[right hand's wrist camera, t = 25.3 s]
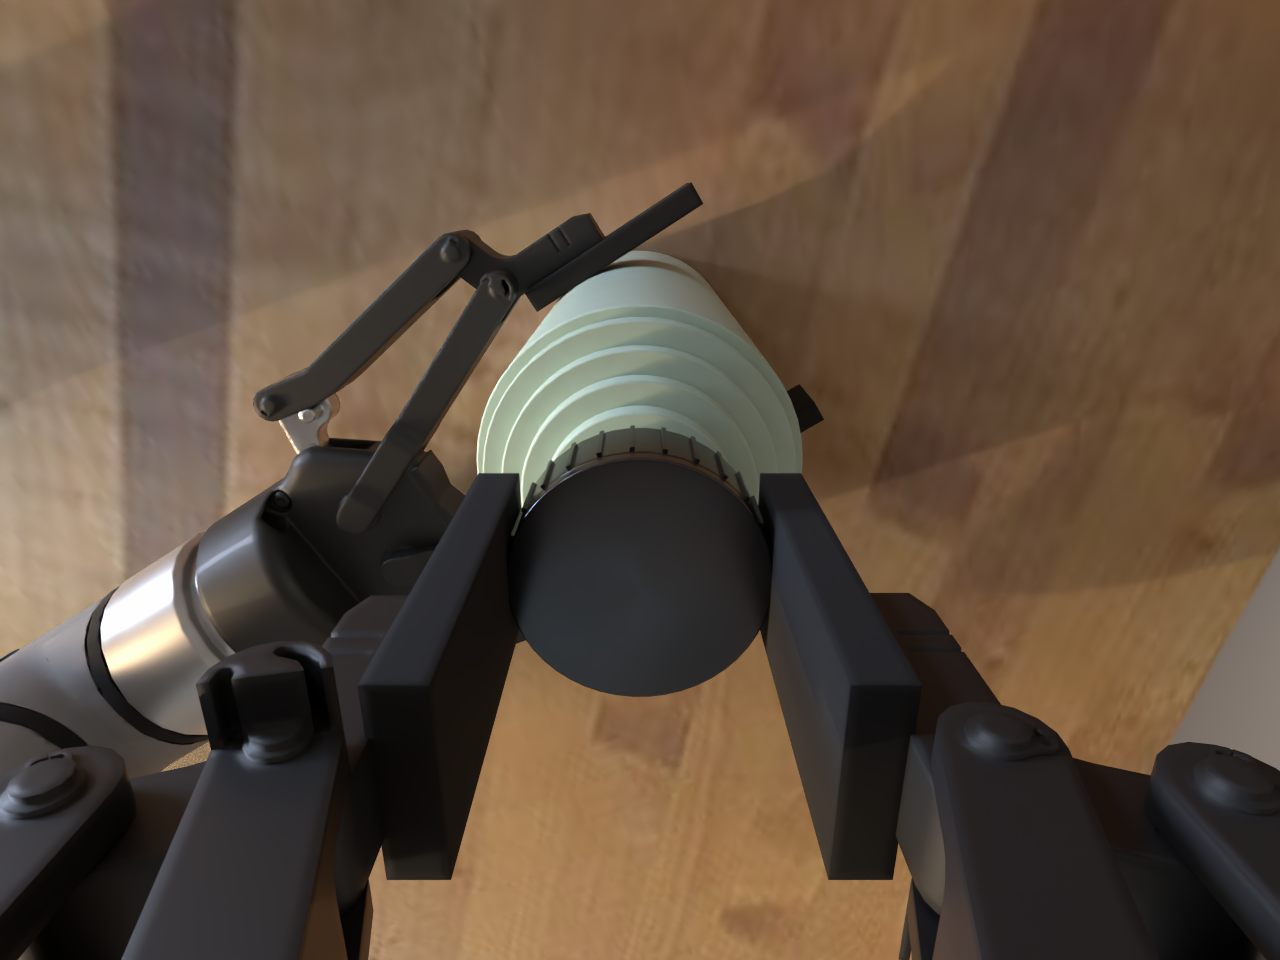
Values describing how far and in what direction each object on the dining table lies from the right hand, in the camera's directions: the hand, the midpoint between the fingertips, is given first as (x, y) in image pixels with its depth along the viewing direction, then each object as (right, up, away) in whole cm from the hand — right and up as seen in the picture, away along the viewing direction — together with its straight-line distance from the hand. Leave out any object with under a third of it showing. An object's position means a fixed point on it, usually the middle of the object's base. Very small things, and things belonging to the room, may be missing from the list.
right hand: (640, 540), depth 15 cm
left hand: (+4, +7, +13) cm, 15 cm away
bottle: (0, +7, +19) cm, 21 cm away
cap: (0, -1, -1) cm, 2 cm away
